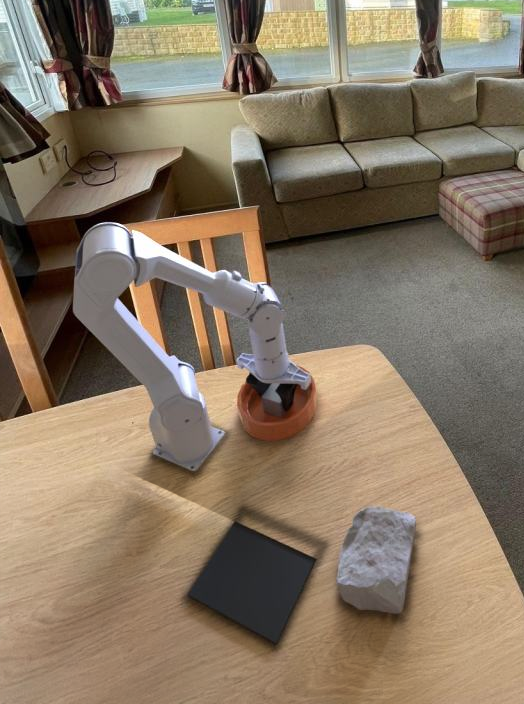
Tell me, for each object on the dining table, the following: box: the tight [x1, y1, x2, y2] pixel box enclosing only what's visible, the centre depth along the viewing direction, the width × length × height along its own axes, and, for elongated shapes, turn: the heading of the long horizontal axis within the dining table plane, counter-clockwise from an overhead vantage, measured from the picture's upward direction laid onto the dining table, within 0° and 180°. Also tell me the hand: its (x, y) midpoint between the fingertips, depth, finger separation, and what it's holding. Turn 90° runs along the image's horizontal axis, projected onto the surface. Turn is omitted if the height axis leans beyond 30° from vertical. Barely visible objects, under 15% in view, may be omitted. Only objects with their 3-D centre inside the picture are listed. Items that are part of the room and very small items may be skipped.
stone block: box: [336, 505, 417, 615], centre depth 67 cm, size 12×5×10 cm
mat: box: [187, 520, 317, 645], centre depth 67 cm, size 14×12×1 cm
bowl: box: [236, 364, 318, 442], centre depth 90 cm, size 14×14×4 cm
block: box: [261, 383, 294, 418], centre depth 90 cm, size 4×4×4 cm
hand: (278, 403), depth 91 cm, fingers closed on block, 4 cm apart
